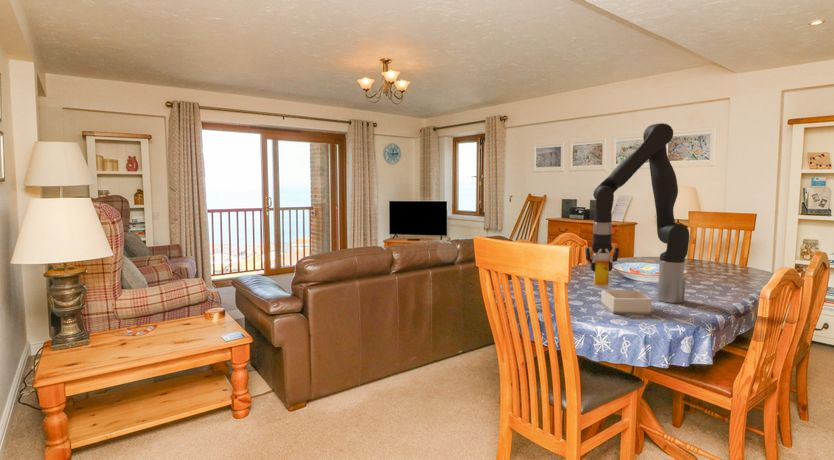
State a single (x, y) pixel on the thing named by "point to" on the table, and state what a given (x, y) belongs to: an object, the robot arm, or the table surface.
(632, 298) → the box
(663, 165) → the robot arm
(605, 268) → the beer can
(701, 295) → the table surface
